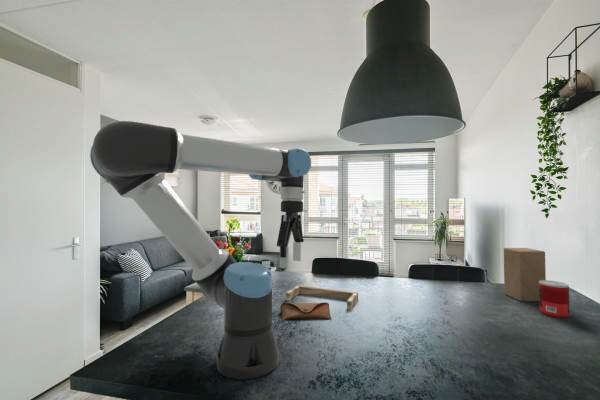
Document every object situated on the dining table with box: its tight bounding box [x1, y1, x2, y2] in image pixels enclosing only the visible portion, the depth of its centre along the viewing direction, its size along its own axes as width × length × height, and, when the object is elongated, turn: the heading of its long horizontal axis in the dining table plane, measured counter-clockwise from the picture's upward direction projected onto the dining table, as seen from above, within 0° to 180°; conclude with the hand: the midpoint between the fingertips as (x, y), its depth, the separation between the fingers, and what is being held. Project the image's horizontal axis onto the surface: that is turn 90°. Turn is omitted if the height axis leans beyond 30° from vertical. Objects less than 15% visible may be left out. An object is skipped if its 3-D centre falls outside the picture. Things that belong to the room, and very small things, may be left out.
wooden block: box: [503, 247, 547, 302], centre depth 119 cm, size 10×10×20 cm
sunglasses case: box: [280, 302, 332, 322], centre depth 101 cm, size 18×7×7 cm
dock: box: [285, 285, 359, 311], centre depth 117 cm, size 12×27×3 cm, turn 66°
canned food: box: [538, 279, 571, 319], centre depth 101 cm, size 8×8×11 cm
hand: (290, 264), depth 95 cm, fingers open, 13 cm apart
